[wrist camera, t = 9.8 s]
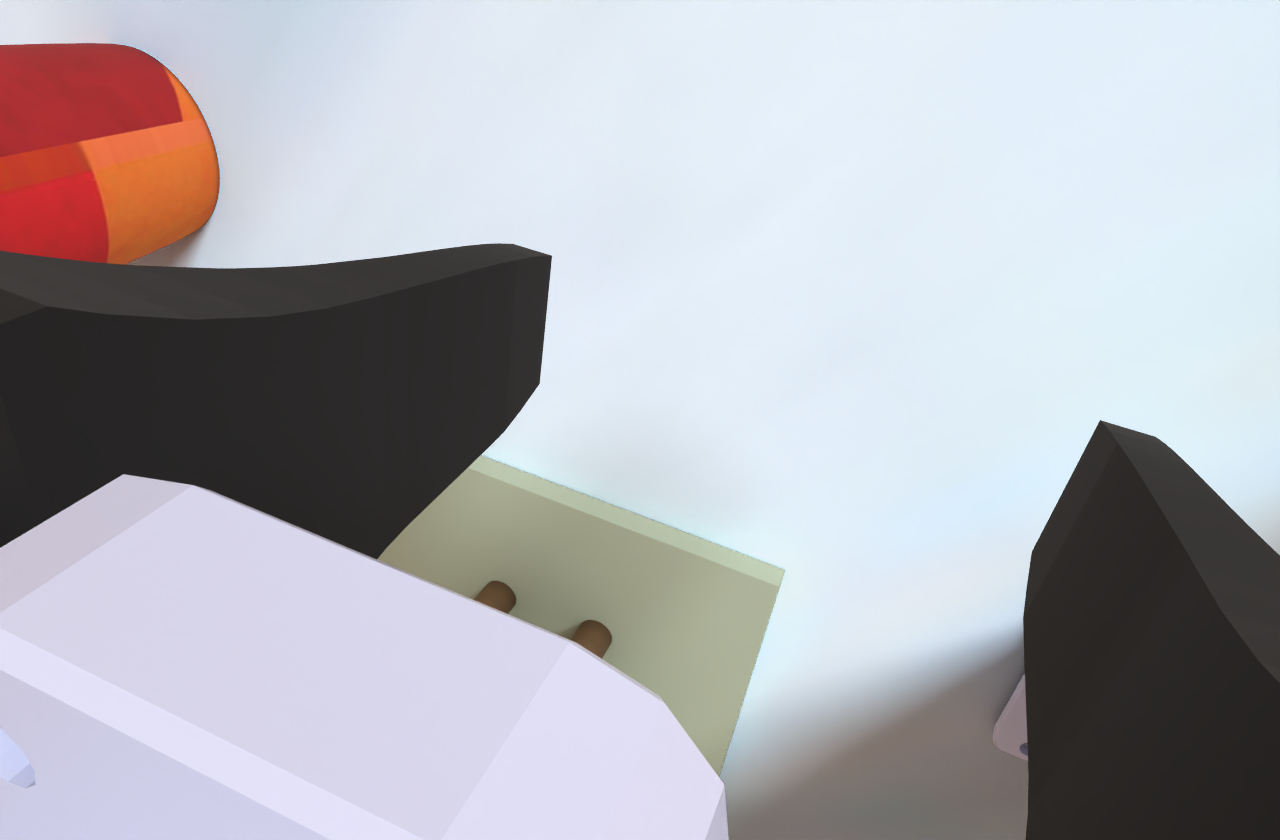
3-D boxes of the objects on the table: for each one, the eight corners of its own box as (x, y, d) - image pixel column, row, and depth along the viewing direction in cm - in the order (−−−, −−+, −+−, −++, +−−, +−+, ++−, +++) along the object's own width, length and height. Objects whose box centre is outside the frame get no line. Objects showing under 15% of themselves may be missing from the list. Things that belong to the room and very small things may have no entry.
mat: (785, 570, 26) (778, 586, 25) (688, 871, 34) (682, 889, 33) (386, 420, 29) (371, 431, 28) (389, 727, 37) (378, 741, 37)
